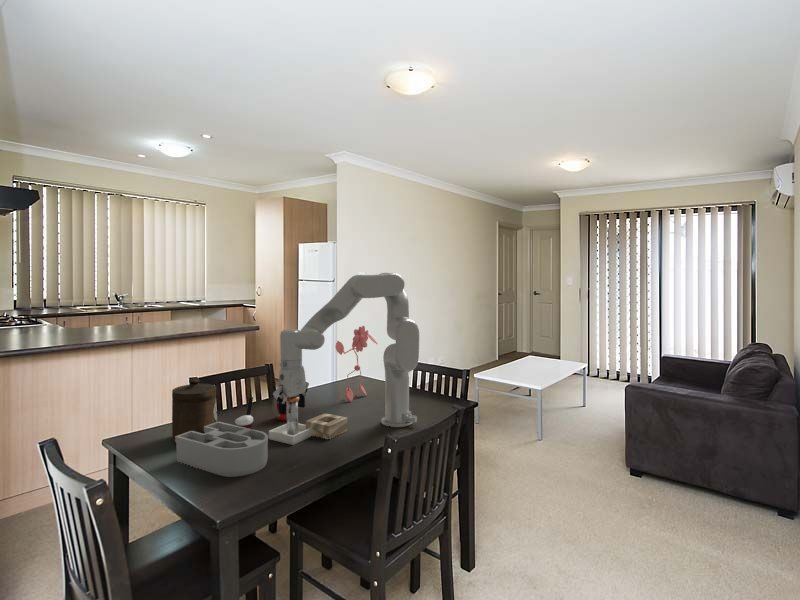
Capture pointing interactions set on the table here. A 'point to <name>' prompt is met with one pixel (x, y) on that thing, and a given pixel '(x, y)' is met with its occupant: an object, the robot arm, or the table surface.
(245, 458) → the grey compartment organizer
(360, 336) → the pink stick figure
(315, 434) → the socket block
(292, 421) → the steel pin
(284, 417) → the canned food
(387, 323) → the robot arm
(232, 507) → the table surface
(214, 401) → the wooden container
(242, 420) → the white oval with stem
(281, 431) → the tray
